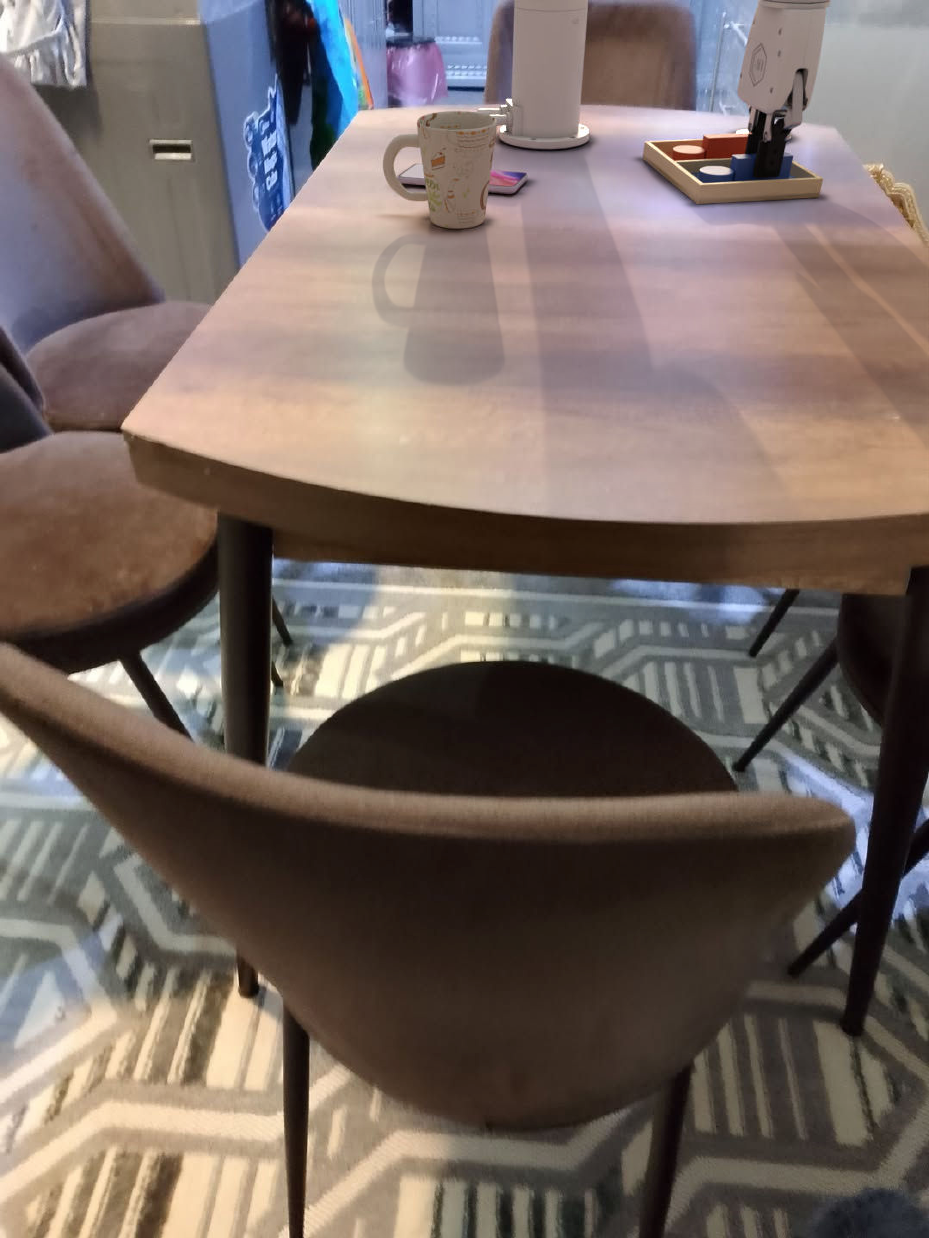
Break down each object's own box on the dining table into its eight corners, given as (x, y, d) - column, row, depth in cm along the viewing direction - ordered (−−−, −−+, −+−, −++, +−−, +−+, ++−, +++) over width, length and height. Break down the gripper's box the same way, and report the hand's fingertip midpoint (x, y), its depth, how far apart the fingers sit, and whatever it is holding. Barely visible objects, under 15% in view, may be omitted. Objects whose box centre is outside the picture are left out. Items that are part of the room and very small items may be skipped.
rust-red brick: (747, 154, 119) (751, 130, 117) (759, 162, 116) (764, 138, 114) (667, 158, 118) (670, 134, 116) (677, 166, 115) (681, 142, 113)
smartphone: (414, 162, 115) (529, 172, 112) (415, 170, 116) (529, 180, 113) (394, 177, 110) (514, 187, 107) (395, 184, 111) (514, 195, 107)
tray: (697, 204, 106) (700, 185, 104) (642, 158, 120) (644, 141, 119) (819, 197, 108) (823, 178, 106) (750, 153, 122) (753, 136, 121)
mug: (487, 235, 97) (488, 132, 91) (374, 227, 99) (368, 126, 93) (500, 211, 104) (503, 113, 97) (394, 204, 105) (389, 107, 99)
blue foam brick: (777, 174, 112) (783, 149, 110) (792, 184, 109) (797, 158, 107) (693, 179, 110) (696, 154, 109) (705, 188, 108) (709, 163, 106)
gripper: (733, -19, 103) (705, 157, 115) (797, 0, 91) (758, 194, 103) (795, -21, 104) (761, 154, 116) (866, -2, 92) (820, 191, 104)
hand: (760, 172), depth 109 cm, fingers closed
